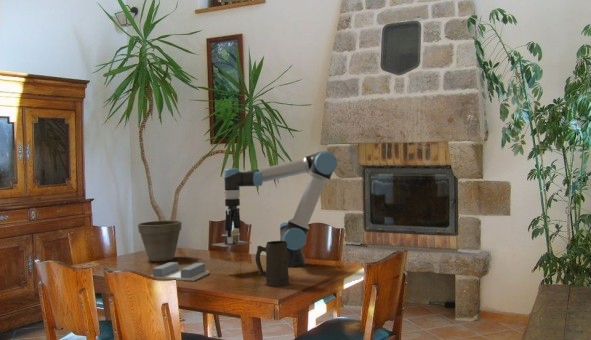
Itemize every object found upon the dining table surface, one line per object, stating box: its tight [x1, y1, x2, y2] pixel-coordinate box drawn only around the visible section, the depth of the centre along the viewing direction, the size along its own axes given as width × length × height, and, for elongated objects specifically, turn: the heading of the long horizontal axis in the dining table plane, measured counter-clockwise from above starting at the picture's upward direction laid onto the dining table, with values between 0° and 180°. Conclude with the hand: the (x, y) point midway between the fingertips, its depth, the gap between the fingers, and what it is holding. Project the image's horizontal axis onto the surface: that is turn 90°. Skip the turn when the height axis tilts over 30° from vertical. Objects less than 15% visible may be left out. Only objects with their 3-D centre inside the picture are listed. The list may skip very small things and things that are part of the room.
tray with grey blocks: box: [151, 261, 210, 282], centre depth 313 cm, size 24×18×5 cm
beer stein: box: [255, 240, 290, 287], centre depth 289 cm, size 15×11×20 cm
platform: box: [211, 229, 251, 248], centre depth 321 cm, size 12×18×7 cm, turn 127°
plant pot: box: [137, 219, 182, 262], centre depth 365 cm, size 25×25×22 cm
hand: (233, 242), depth 322 cm, fingers closed on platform, 8 cm apart
